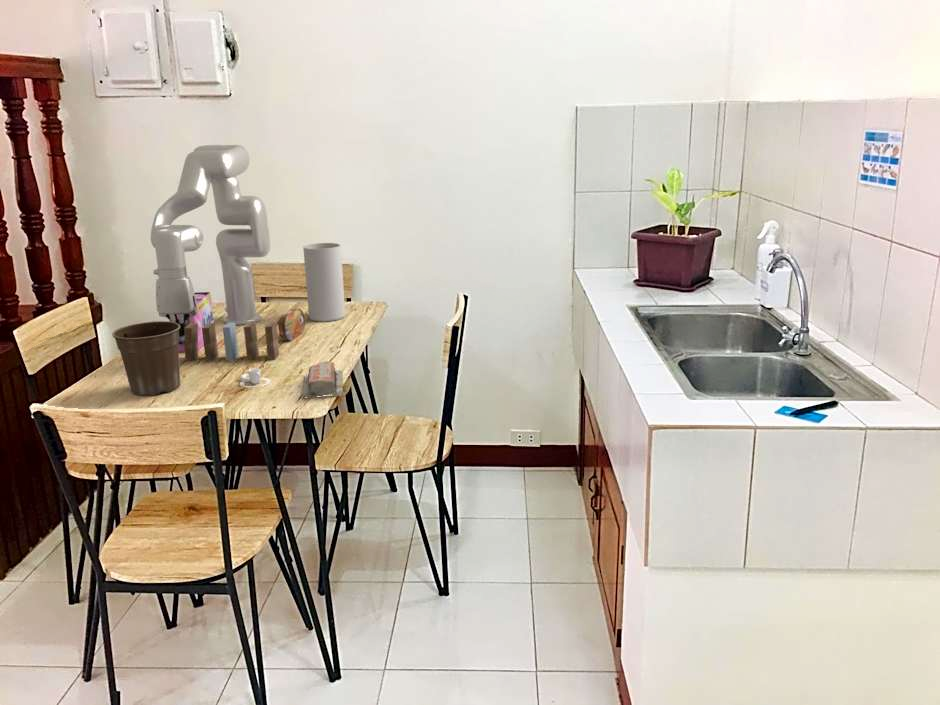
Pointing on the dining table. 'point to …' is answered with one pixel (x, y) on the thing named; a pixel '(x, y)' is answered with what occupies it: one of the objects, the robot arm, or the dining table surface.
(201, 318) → the gum box
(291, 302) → the dining table surface
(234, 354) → the domino
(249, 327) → the domino
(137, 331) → the plant pot
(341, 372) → the packaged product
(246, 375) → the teacup and saucer
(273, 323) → the domino
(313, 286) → the cylinder vase
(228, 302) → the robot arm
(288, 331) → the tin
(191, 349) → the domino
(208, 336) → the domino
